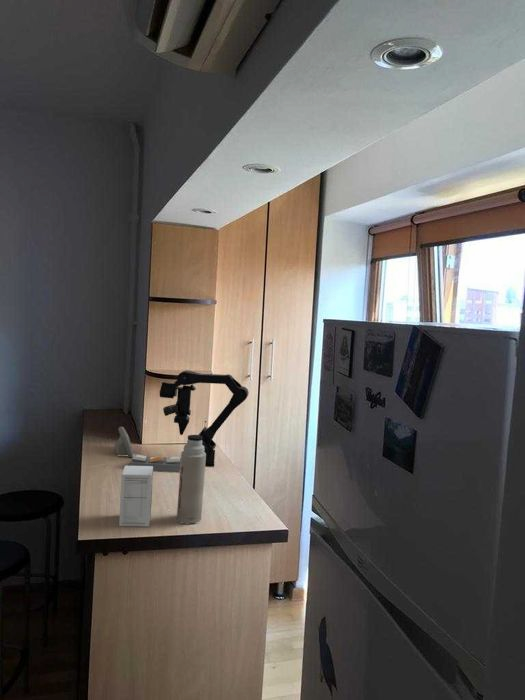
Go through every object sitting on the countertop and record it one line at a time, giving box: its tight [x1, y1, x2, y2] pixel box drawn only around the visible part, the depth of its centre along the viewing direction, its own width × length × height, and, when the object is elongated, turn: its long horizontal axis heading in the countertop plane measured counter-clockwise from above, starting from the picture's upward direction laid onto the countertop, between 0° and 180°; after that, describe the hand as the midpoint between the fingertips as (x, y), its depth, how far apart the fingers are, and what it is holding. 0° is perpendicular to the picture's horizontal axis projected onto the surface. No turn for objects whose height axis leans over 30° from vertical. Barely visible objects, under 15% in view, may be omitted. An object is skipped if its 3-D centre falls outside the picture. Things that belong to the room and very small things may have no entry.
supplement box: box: [118, 465, 154, 528], centre depth 176 cm, size 10×9×17 cm
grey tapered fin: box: [114, 426, 135, 458], centre depth 247 cm, size 16×9×11 cm, turn 11°
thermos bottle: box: [176, 434, 206, 524], centre depth 180 cm, size 8×8×28 cm
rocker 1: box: [131, 453, 146, 461], centre depth 228 cm, size 5×3×1 cm, turn 95°
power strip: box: [130, 455, 181, 474], centre depth 231 cm, size 20×10×3 cm, turn 95°
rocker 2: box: [166, 455, 181, 462], centre depth 229 cm, size 5×3×1 cm, turn 95°
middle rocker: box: [149, 454, 164, 462], centre depth 229 cm, size 5×3×1 cm, turn 94°
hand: (181, 434), depth 241 cm, fingers closed
